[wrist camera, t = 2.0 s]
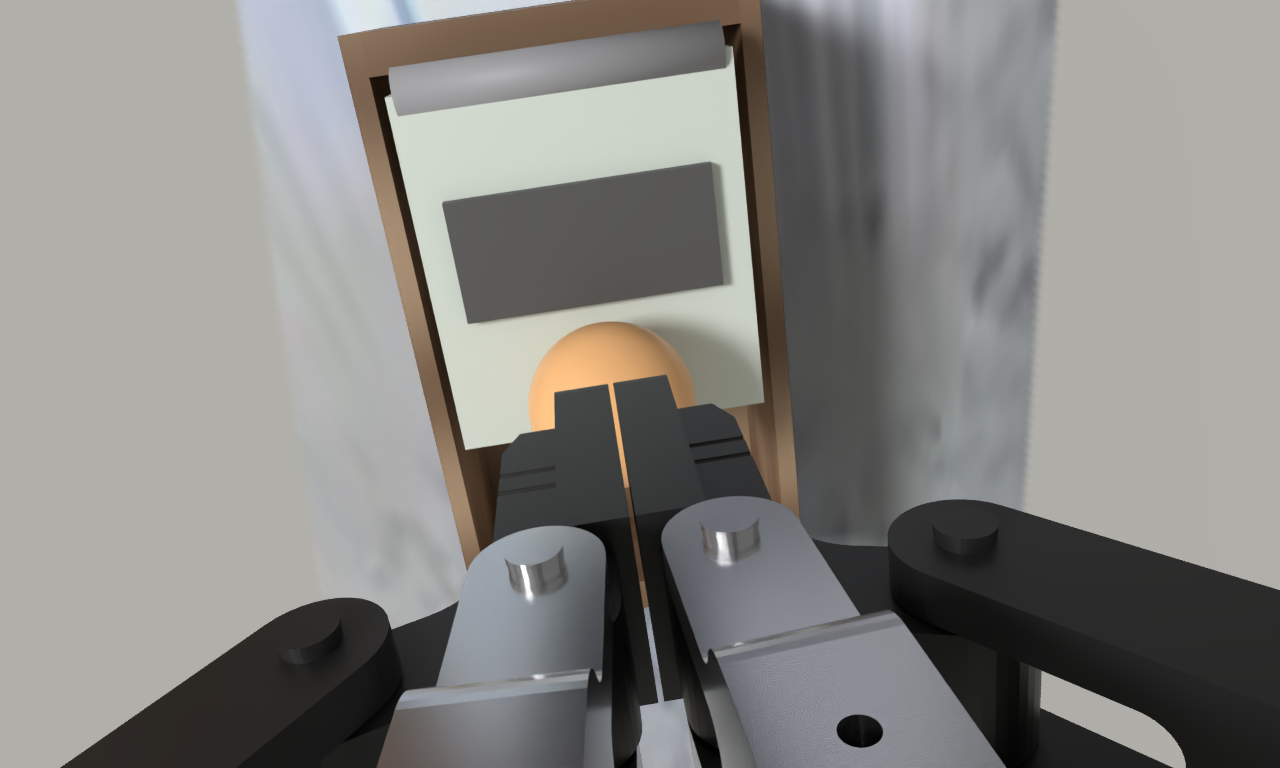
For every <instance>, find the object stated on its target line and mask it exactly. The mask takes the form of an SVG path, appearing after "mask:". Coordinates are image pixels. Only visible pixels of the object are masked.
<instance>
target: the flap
mask: <svg viewBox="0 0 1280 768" xmlns="http://www.w3.org/2000/svg"><path fill="white" fill-rule="evenodd" d="M389 83H390V90H391V94H390V95H388V96H387V97H385V102H386V106H387V110H388V115H389V119H390V123H391V128H392V132H393V136H394V141H395V145H396V150H397V154H398V158H399V163H400V167H401V171H402V176H403V180H404V184H405V189H406V193H407V197H408V202H409V206H410V210H411V215H412V219H413V224H414V228H415V232H416V237H417V241H418V245H419V250H420V254H421V258H422V263H423V267H424V271H425V276H426V280H427V285H428V289H429V293H430V298H431V302H432V306H433V311H434V315H435V319H436V324H437V328H438V332H439V337H440V341H441V346H442V350H443V354H444V359H445V363H446V367H447V372H448V376H449V380H450V385H451V389H452V393H453V398H454V402H455V406H456V411H457V415H458V420H459V424H460V428H461V433H462V437H463V441H464V446H465V450H468V449H474V448H480V447H487V446H493V445H499V444H506V443H512V442H513V441H514V440H515V439H516V438H517V437H518V435H519V434H523V433H529V432H532V429H531V425H530V420H529V412H528V397H529V391H530V386H531V382H532V379H533V376H534V373H535V371H536V369H537V367H538V365H539V363H540V362H541V360H542V359H543V357H544V356H545V354H546V353H547V352H548V351H549V349H550V348H551V347H552V346H553V345H554V344H555V343H556V342H557V341H559V340H560V339H561V338H562V337H564V336H565V335H567V334H568V333H570V332H572V331H574V330H576V329H578V328H580V327H583V326H586V325H589V324H594V323H598V322H607V321H617V322H626V323H632V324H635V325H639V326H642V327H644V328H646V329H649V330H651V331H652V332H654V333H656V334H657V335H659V336H660V337H662V338H663V339H664V340H665V341H667V342H668V343H669V344H670V345H671V346H672V347H673V348H674V349H675V350H676V351H677V352H678V354H679V355H680V357H681V358H682V359H683V361H684V363H685V365H686V367H687V369H688V370H689V372H690V375H691V378H692V381H693V385H694V390H695V396H696V406H697V405H704V404H710V403H712V404H714V405H716V406H717V407H719V408H721V409H726V408H732V407H738V406H745V405H751V404H757V403H764V393H763V382H762V371H761V360H760V348H759V337H758V326H757V315H756V304H755V292H754V281H753V270H752V259H751V248H750V236H749V225H748V214H747V203H746V191H745V180H744V169H743V158H742V147H741V135H740V124H739V113H738V102H737V91H736V79H735V68H734V57H733V47H732V46H729V45H725V40H724V34H723V29H722V25H721V22H720V20H712V21H706V22H699V23H692V24H685V25H678V26H671V27H665V28H658V29H651V30H644V31H637V32H630V33H623V34H617V35H610V36H603V37H596V38H589V39H582V40H575V41H569V42H562V43H555V44H548V45H541V46H534V47H527V48H521V49H514V50H507V51H500V52H493V53H486V54H479V55H473V56H466V57H459V58H452V59H445V60H438V61H432V62H425V63H418V64H411V65H404V66H397V67H390V68H389Z"/></svg>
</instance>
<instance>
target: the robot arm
mask: <svg viewBox="0 0 1280 768" xmlns="http://www.w3.org/2000/svg"><path fill="white" fill-rule="evenodd" d="M613 386H614V393H615V399H616V406H617V412H618V419H619V425H620V431H621V438H622V444H623V451H624V457H625V463H626V470H627V476H628V483H629V489H630V495H631V502H632V508H633V514H634V521H635V527H636V533H637V539H638V545H639V551H640V557H641V563H642V569H643V575H644V581H645V587H646V593H647V599H648V605H649V611H650V617H651V623H652V630H653V636H654V642H655V648H656V654H657V660H658V666H659V672H660V678H661V684H662V690H663V696H664V701H670V700H676V699H682V698H683V699H684V705H685V710H686V715H687V721H688V728H689V735H690V741H691V748H692V755H693V760H694V764H695V767H696V768H1172V767H1170V766H1168V765H1165V764H1163V763H1161V762H1159V761H1157V760H1154V759H1152V758H1150V757H1148V756H1146V755H1143V754H1141V753H1139V752H1137V751H1135V750H1132V749H1130V748H1128V747H1126V746H1124V745H1121V744H1119V743H1117V742H1115V741H1112V740H1110V739H1108V738H1106V737H1104V736H1101V735H1099V734H1097V733H1095V732H1092V731H1090V730H1088V729H1086V728H1084V727H1081V726H1079V725H1076V724H1075V723H1072V722H1070V721H1068V720H1066V719H1064V718H1061V717H1059V716H1057V715H1055V714H1052V713H1050V712H1048V711H1046V710H1044V709H1041V708H1040V697H1041V672H1042V671H1044V672H1046V673H1049V674H1051V675H1053V676H1056V677H1058V678H1061V679H1063V680H1065V681H1068V682H1070V683H1072V684H1075V685H1078V686H1080V687H1082V688H1084V689H1087V690H1089V691H1092V692H1094V693H1096V694H1099V695H1101V696H1104V697H1106V698H1108V699H1110V700H1113V701H1115V702H1117V703H1120V704H1122V705H1125V706H1127V707H1129V708H1132V709H1134V710H1136V711H1139V712H1141V713H1143V714H1145V715H1147V716H1149V717H1150V718H1152V719H1153V720H1155V721H1156V722H1158V723H1159V724H1160V725H1161V726H1163V727H1164V728H1165V729H1166V730H1167V731H1168V732H1169V733H1170V734H1171V735H1172V737H1173V738H1174V739H1175V740H1176V742H1177V743H1178V745H1179V747H1180V748H1181V750H1182V753H1183V755H1184V758H1185V762H1186V768H1280V590H1277V589H1274V588H1271V587H1267V586H1264V585H1261V584H1258V583H1254V582H1251V581H1248V580H1244V579H1241V578H1238V577H1235V576H1231V575H1228V574H1225V573H1221V572H1218V571H1215V570H1212V569H1208V568H1205V567H1202V566H1199V565H1195V564H1192V563H1189V562H1185V561H1182V560H1179V559H1175V558H1172V557H1169V556H1166V555H1162V554H1159V553H1156V552H1153V551H1149V550H1146V549H1142V548H1139V547H1136V546H1133V545H1130V544H1126V543H1123V542H1120V541H1117V540H1113V539H1110V538H1107V537H1103V536H1100V535H1097V534H1094V533H1090V532H1087V531H1083V530H1080V529H1077V528H1074V527H1070V526H1067V525H1064V524H1060V523H1057V522H1054V521H1051V520H1048V519H1044V518H1041V517H1037V516H1034V515H1031V514H1028V513H1025V512H1021V511H1018V510H1015V509H1012V508H1008V507H1005V506H1002V505H998V504H994V503H990V502H984V501H977V500H964V499H963V500H942V501H936V502H930V503H926V504H923V505H919V506H916V507H914V508H912V509H910V510H907V511H906V512H904V513H903V514H901V515H900V516H899V517H898V518H896V519H895V520H894V521H893V523H892V525H891V526H890V528H889V531H888V547H881V546H851V545H839V544H832V543H826V542H823V541H819V540H815V539H812V538H810V536H809V535H808V533H807V532H806V530H805V528H804V527H803V525H802V524H801V522H800V521H799V519H798V518H797V516H796V515H795V514H794V513H793V512H792V511H791V510H789V509H788V508H787V507H785V506H783V505H781V504H779V503H777V502H774V501H772V499H771V497H770V494H769V492H768V490H767V488H766V486H765V483H764V481H763V479H762V477H761V474H760V472H759V470H758V468H757V465H756V463H755V461H754V459H753V457H752V455H751V454H750V450H749V448H748V445H747V443H746V441H745V439H744V438H743V434H742V432H741V430H740V428H739V425H738V423H737V421H736V419H735V417H734V416H732V415H731V414H729V413H727V412H726V411H724V410H722V409H721V408H719V407H717V406H716V405H714V404H712V403H710V404H704V405H697V406H691V407H685V408H679V409H677V405H676V402H675V399H674V396H673V393H672V390H671V386H670V383H669V380H668V377H667V375H659V376H653V377H647V378H640V379H634V380H628V381H621V382H615V383H613ZM554 413H555V428H554V429H548V430H541V431H535V432H529V433H523V434H519V435H518V437H517V438H516V439H515V440H514V441H513V442H512V443H511V445H510V446H509V447H508V448H507V449H506V450H505V451H504V453H503V454H502V459H501V469H500V479H499V489H498V494H499V496H498V498H497V508H496V518H495V528H494V537H493V544H491V545H489V546H488V547H487V548H485V549H484V550H483V551H481V552H480V553H479V554H478V555H477V556H476V557H475V558H474V560H473V561H472V563H471V564H470V566H469V568H468V571H467V574H466V578H465V581H464V585H463V589H462V592H461V596H460V600H459V601H458V602H456V603H455V604H453V605H451V606H449V607H447V608H445V609H443V610H442V611H439V612H437V613H435V614H432V615H430V616H427V617H425V618H422V619H419V620H416V621H414V622H411V623H408V624H406V625H403V626H400V627H398V628H395V629H392V630H391V627H390V623H389V620H388V616H387V614H386V613H385V611H384V610H383V609H382V608H381V607H380V606H379V605H377V604H375V603H373V602H371V601H368V600H364V599H359V598H334V599H327V600H322V601H318V602H314V603H310V604H307V605H305V606H301V607H299V608H296V609H294V610H291V611H289V612H287V613H285V614H283V615H281V616H279V617H277V618H276V619H274V620H272V621H271V622H269V623H268V624H266V625H264V626H263V627H262V628H260V629H259V630H257V631H256V632H254V633H253V634H251V635H250V636H249V637H247V638H246V639H244V640H243V641H241V642H240V643H239V644H237V645H236V646H234V647H233V648H231V649H230V650H229V651H227V652H226V653H224V654H223V655H221V656H220V657H218V658H217V659H216V660H214V661H213V662H211V663H210V664H208V665H207V666H206V667H204V668H203V669H201V670H200V671H198V672H197V673H195V674H194V675H193V676H191V677H190V678H188V679H187V680H186V681H184V682H183V683H181V684H180V685H178V686H177V687H175V688H174V689H173V690H171V691H170V692H169V693H167V694H165V695H164V696H162V697H161V698H160V699H158V700H157V701H155V702H154V703H152V704H151V705H150V706H148V707H147V708H145V709H144V710H142V711H141V712H140V713H138V714H137V715H135V716H134V717H132V718H131V719H129V720H128V721H127V722H125V723H124V724H122V725H121V726H119V727H118V728H117V729H115V730H114V731H112V732H111V733H109V734H108V735H107V736H105V737H104V738H102V739H101V740H100V741H98V742H97V743H95V744H94V745H92V746H91V747H89V748H88V749H86V750H85V751H84V752H82V753H81V754H79V755H78V756H76V757H75V758H74V759H72V760H71V761H69V762H68V763H66V764H65V765H63V766H62V767H61V768H643V766H642V759H641V754H640V748H639V742H640V739H641V734H642V720H641V713H640V706H642V705H648V704H654V703H658V698H657V691H656V685H655V678H654V672H653V666H652V659H651V653H650V647H649V640H648V634H647V627H646V621H645V615H644V608H643V602H642V595H641V589H640V583H639V576H638V570H637V563H636V557H635V551H634V544H633V538H632V531H631V525H630V519H629V512H628V506H627V500H626V493H625V487H624V481H623V475H622V468H621V462H620V456H619V449H618V443H617V437H616V430H615V424H614V418H613V412H612V405H611V399H610V393H609V386H608V384H603V385H597V386H591V387H584V388H578V389H572V390H565V391H559V392H554Z"/></svg>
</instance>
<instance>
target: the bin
mask: <svg viewBox="0 0 1280 768" xmlns="http://www.w3.org/2000/svg"><path fill="white" fill-rule="evenodd" d="M712 20H720V22H721V25H722V29H723V34H724V40H725V45H729V46H732V47H733V57H734V68H735V79H736V91H737V102H738V113H739V124H740V135H741V147H742V158H743V169H744V180H745V191H746V203H747V214H748V225H749V236H750V248H751V259H752V270H753V281H754V292H755V304H756V315H757V326H758V337H759V348H760V360H761V371H762V382H763V393H764V403H757V404H751V405H745V406H738V407H732V408H726V409H722V410H724V411H726V412H727V413H729V414H731V415H732V416H734V417H735V419H736V421H737V423H738V425H739V428H740V430H741V432H742V434H743V438H744V439H745V441H746V443H747V445H748V448H749V450H750V454H751V455H752V457H753V459H754V461H755V463H756V465H757V468H758V470H759V472H760V474H761V477H762V479H763V481H764V483H765V486H766V488H767V490H768V492H769V494H770V497H771V499H772V501H774V502H777V503H779V504H781V505H783V506H785V507H787V508H788V509H789V510H791V511H792V512H793V513H794V514H795V515H796V516H797V518H798V519H799V521H800V514H799V501H798V488H797V475H796V462H795V449H794V436H793V424H792V411H791V398H790V385H789V372H788V359H787V346H786V333H785V320H784V307H783V294H782V281H781V268H780V255H779V242H778V229H777V216H776V203H775V190H774V177H773V164H772V151H771V138H770V125H769V112H768V99H767V86H766V73H765V60H764V48H763V35H762V22H761V9H760V0H572V1H565V2H558V3H551V4H544V5H537V6H530V7H524V8H517V9H510V10H503V11H496V12H489V13H482V14H475V15H468V16H461V17H454V18H447V19H441V20H434V21H427V22H420V23H413V24H406V25H399V26H392V27H385V28H379V29H373V30H368V31H363V32H358V33H352V34H347V35H342V36H337V37H338V41H339V45H340V49H341V53H342V57H343V61H344V65H345V70H346V74H347V78H348V82H349V86H350V90H351V94H352V98H353V103H354V107H355V111H356V115H357V119H358V123H359V127H360V131H361V136H362V140H363V144H364V148H365V152H366V156H367V160H368V164H369V169H370V173H371V177H372V181H373V185H374V189H375V193H376V197H377V202H378V206H379V210H380V214H381V218H382V222H383V226H384V230H385V235H386V239H387V243H388V247H389V251H390V255H391V259H392V263H393V268H394V272H395V276H396V280H397V284H398V288H399V292H400V296H401V301H402V305H403V309H404V313H405V317H406V321H407V325H408V329H409V334H410V338H411V342H412V346H413V350H414V354H415V358H416V362H417V367H418V371H419V375H420V379H421V383H422V387H423V391H424V395H425V400H426V404H427V408H428V412H429V416H430V420H431V424H432V428H433V433H434V437H435V441H436V445H437V449H438V453H439V457H440V461H441V466H442V470H443V474H444V478H445V482H446V486H447V490H448V494H449V499H450V503H451V507H452V511H453V515H454V519H455V523H456V527H457V532H458V536H459V540H460V544H461V548H462V552H463V556H464V560H465V565H466V569H467V571H468V568H469V566H470V564H471V563H472V561H473V560H474V558H475V557H476V556H477V555H478V554H479V553H480V552H481V551H483V550H484V549H485V548H487V547H488V546H489V545H491V544H493V537H494V528H495V518H496V508H497V498H498V496H499V494H498V489H499V479H500V469H501V459H502V454H503V453H504V451H505V450H506V449H507V448H508V447H509V446H510V445H511V443H506V444H499V445H493V446H487V447H480V448H474V449H468V450H465V446H464V441H463V437H462V433H461V428H460V424H459V420H458V415H457V411H456V406H455V402H454V398H453V393H452V389H451V385H450V380H449V376H448V372H447V367H446V363H445V359H444V354H443V350H442V346H441V341H440V337H439V332H438V328H437V324H436V319H435V315H434V311H433V306H432V302H431V298H430V293H429V289H428V285H427V280H426V276H425V271H424V267H423V263H422V258H421V254H420V250H419V245H418V241H417V237H416V232H415V228H414V224H413V219H412V215H411V210H410V206H409V202H408V197H407V193H406V189H405V184H404V180H403V176H402V171H401V167H400V163H399V158H398V154H397V150H396V145H395V141H394V136H393V132H392V128H391V123H390V119H389V115H388V110H387V106H386V102H385V97H387V96H388V95H390V94H391V90H390V83H389V68H390V67H397V66H404V65H411V64H418V63H425V62H432V61H438V60H445V59H452V58H459V57H466V56H473V55H479V54H486V53H493V52H500V51H507V50H514V49H521V48H527V47H534V46H541V45H548V44H555V43H562V42H569V41H575V40H582V39H589V38H596V37H603V36H610V35H617V34H623V33H630V32H637V31H644V30H651V29H658V28H665V27H671V26H678V25H685V24H692V23H699V22H706V21H712ZM625 493H626V500H627V506H628V512H629V519H630V525H631V531H632V538H633V544H634V551H635V557H636V563H637V570H638V576H639V583H640V589H641V595H642V602H643V608H645V607H649V605H648V599H647V593H646V587H645V581H644V575H643V569H642V563H641V557H640V551H639V545H638V539H637V533H636V527H635V521H634V514H633V508H632V502H631V495H630V489H629V487H628V488H625Z"/></svg>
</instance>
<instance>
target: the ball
mask: <svg viewBox="0 0 1280 768" xmlns="http://www.w3.org/2000/svg"><path fill="white" fill-rule="evenodd" d="M659 375H667V377H668V380H669V383H670V386H671V390H672V393H673V396H674V399H675V402H676V405H677V409H679V408H685V407H691V406H696V396H695V390H694V385H693V381H692V378H691V375H690V372H689V370H688V369H687V367H686V365H685V363H684V361H683V359H682V358H681V357H680V355H679V354H678V352H677V351H676V350H675V349H674V348H673V347H672V346H671V345H670V344H669V343H668V342H667V341H665V340H664V339H663V338H662V337H660V336H659V335H657V334H656V333H654V332H652V331H651V330H649V329H646V328H644V327H642V326H639V325H635V324H632V323H626V322H617V321H607V322H598V323H594V324H589V325H586V326H583V327H580V328H578V329H576V330H574V331H572V332H570V333H568V334H567V335H565V336H564V337H562V338H561V339H560V340H559V341H557V342H556V343H555V344H554V345H553V346H552V347H551V348H550V349H549V351H548V352H547V353H546V354H545V356H544V357H543V359H542V360H541V362H540V363H539V365H538V367H537V369H536V371H535V373H534V376H533V379H532V382H531V386H530V391H529V397H528V412H529V420H530V425H531V429H532V432H535V431H541V430H548V429H554V428H555V413H554V392H559V391H565V390H572V389H578V388H584V387H591V386H597V385H603V384H608V386H609V393H610V399H611V405H612V412H613V418H614V424H615V430H616V437H617V443H618V449H619V456H620V462H621V468H622V475H623V481H624V487H625V488H628V487H629V483H628V476H627V470H626V463H625V457H624V451H623V444H622V438H621V431H620V425H619V419H618V412H617V406H616V399H615V393H614V386H613V383H615V382H621V381H628V380H634V379H640V378H647V377H653V376H659Z"/></svg>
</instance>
